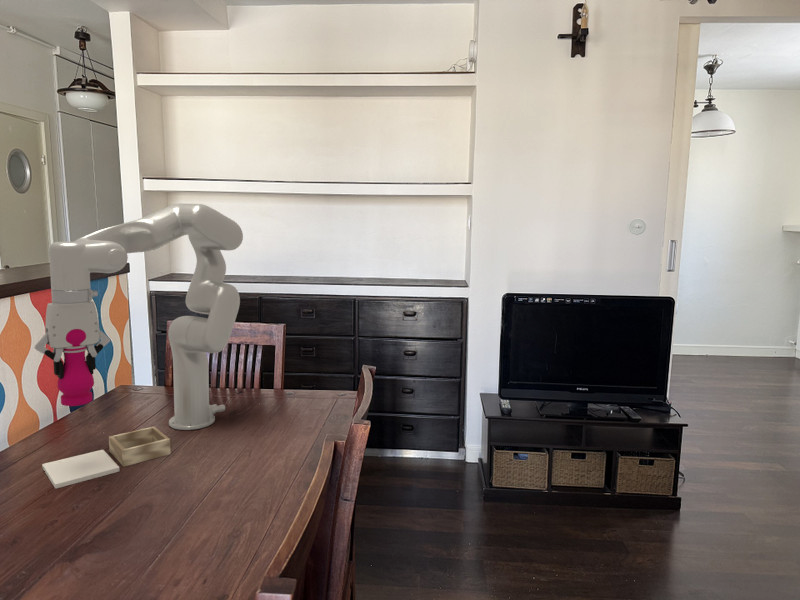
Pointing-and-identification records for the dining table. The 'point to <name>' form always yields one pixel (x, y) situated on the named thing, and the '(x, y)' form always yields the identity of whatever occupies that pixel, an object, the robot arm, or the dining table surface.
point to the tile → (79, 468)
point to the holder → (139, 446)
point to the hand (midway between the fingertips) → (75, 374)
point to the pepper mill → (75, 372)
